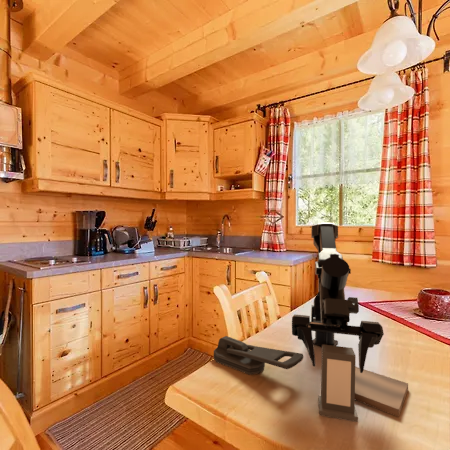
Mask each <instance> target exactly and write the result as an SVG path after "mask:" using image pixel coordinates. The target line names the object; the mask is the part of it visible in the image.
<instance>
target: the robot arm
mask: <svg viewBox="0 0 450 450" xmlns="http://www.w3.org/2000/svg"><path fill="white" fill-rule="evenodd" d="M310 231H311V233H310V234H311V237H310V238H311V239H313V241H312V243H313V245H314V247H315V248H316V249H317V261H315V263H314V274H315V275H316V276H317V279H318V280H317V281H318V282H317V284H318V288H317V289H318V292H317V293H316V296H315V297H314V299H313V304H311V308H310V315H306V314H305V315H303V314H302V315H301V314H294V315H293V316H291V335H292V336H295V337H297V339H298V340H300V341H302V343H303V345H304V346H305V349H306V351H307V354H308V356H309V359H310V362H311V366H312V367H316V356H315V355H316V354H315V349H314V345H316V346H320V347H322V344H323V345H331V346H336V345H338V343H339V340H336V339H335V334H338V335H339V334H340V335H349V336H356V337H357V336H358V340H359V341H358V345H357V348H358V368H360V373H363V370H364V369H365V364H366V359H367V354H368V350H369V349H370V348H374V346H377V345H379V344H380V343H381V340H382V338H383V336H384V335H385V334H384V329H383V326H382V324H381V323H379V322H378V321H370V320H369V321H367V320H361V321H360V323H359V325H349V323H350V320H351V319H350V318H351V317H350V314H355V315H356V314H359V312H360V311H359V310H360V309H359V308H360V307H359V300H358V297H352V296H351V297H350V296H349V297H348V298H347V299H346V294H345V288H346V286H347V282H348V277H349V275H350V274H351V273H352V272H351V271H352V270H351V268H350V265H349V264H348V262H347V261H346V260H345V259H344V258H343V254H341V253H340V252H338V251H337V244H336V239H338V238H339V226H338V225H336V224H335V223H333V222H318V223H317V224H315V225H311V229H310ZM312 331H313V332H315V333H314V338H313V332H312Z"/></svg>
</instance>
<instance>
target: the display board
mask: <svg viewBox="0 0 450 450" xmlns="http://www.w3.org/2000/svg"><path fill="white" fill-rule="evenodd" d="M408 390H409V382H406V381H401V380H398V379H395V378H392V377H390V376H386V375H383V374H380V373H377V372H373V371H370V370H368V369H366V368H364V370H363V373H360V368H359V366H355V402H359V403H362V404H364V405H367V406H369V407H372V408H374V409H377V410H380V411H381V412H382V411H383V412H385V413H387V414H389V415H393V416H395V417H398V418H399V417H400V414H401V412H402V408H403V405H404V403H405V399H406V397H407V394H408V392H409V391H408Z"/></svg>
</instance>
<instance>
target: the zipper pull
mask: <svg viewBox="0 0 450 450" xmlns="http://www.w3.org/2000/svg"><path fill="white" fill-rule="evenodd" d="M285 357H289V358H288V359H285V361H280V360H281V359H283V358H285ZM213 359H214V361H215V362H216V363H217V364H220V365H222V366H226V367H228V368H231V369H233V370H235V371H238V372H241V373H242V374H243V373H244V374H246V375H249V376H251V375H258V374H260V373H263V372H264V371H265V366H266V364H268V365H270V366H274V367H278V368H281V369H285V370H289V369H292V368H293V367H296V366H297V365H298V364H300V363H301V362H302V361H303V359H304V354H303V353H299V352H295V351H287V350H282V349H277V348H275V349H274V348H269V347H263V346H258V345H252V344H247V343H245V342H243V341H241V340H238V339H236V338H234V337H230V336H227V335H225V336H223V337H221V338H219V340H218V343H217V347H216V348H215V349H214V350H213Z"/></svg>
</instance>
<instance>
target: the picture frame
mask: <svg viewBox="0 0 450 450" xmlns="http://www.w3.org/2000/svg"><path fill="white" fill-rule="evenodd" d="M356 358H357V357H356V353H355V350H354V348H353V347H349V346H348V347H346V346H339V345H337V346H336V345H335V346H331V345H323V344H322V346H321V373H320V374H321V376H320V377H321V378H320V384H321V385H320V395H318V396H317V397H318V398H317V400H318V402H317V403H318V410H319V416H322V417H328V418H332V419H339V420H344V421H349V422H354V423H359V416H358V412H357V409H356V405H355V404H356V400H355V367H356Z"/></svg>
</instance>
